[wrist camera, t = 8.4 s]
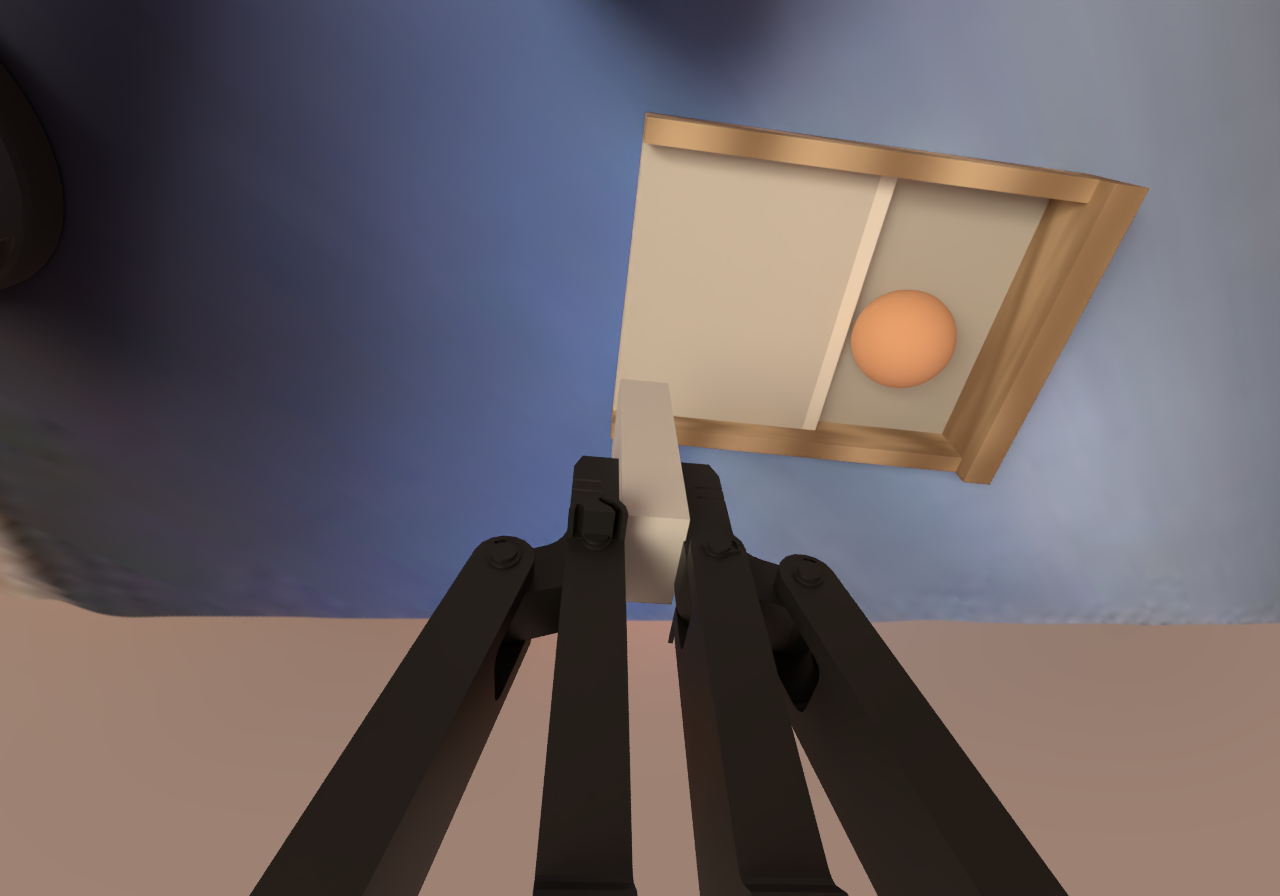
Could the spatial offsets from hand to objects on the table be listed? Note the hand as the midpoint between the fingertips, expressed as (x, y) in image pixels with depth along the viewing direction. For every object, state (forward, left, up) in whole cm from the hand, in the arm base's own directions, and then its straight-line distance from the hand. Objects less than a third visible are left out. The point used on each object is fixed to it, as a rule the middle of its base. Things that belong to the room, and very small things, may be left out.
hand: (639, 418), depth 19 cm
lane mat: (+11, 0, -15) cm, 18 cm away
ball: (+14, -1, -12) cm, 19 cm away
